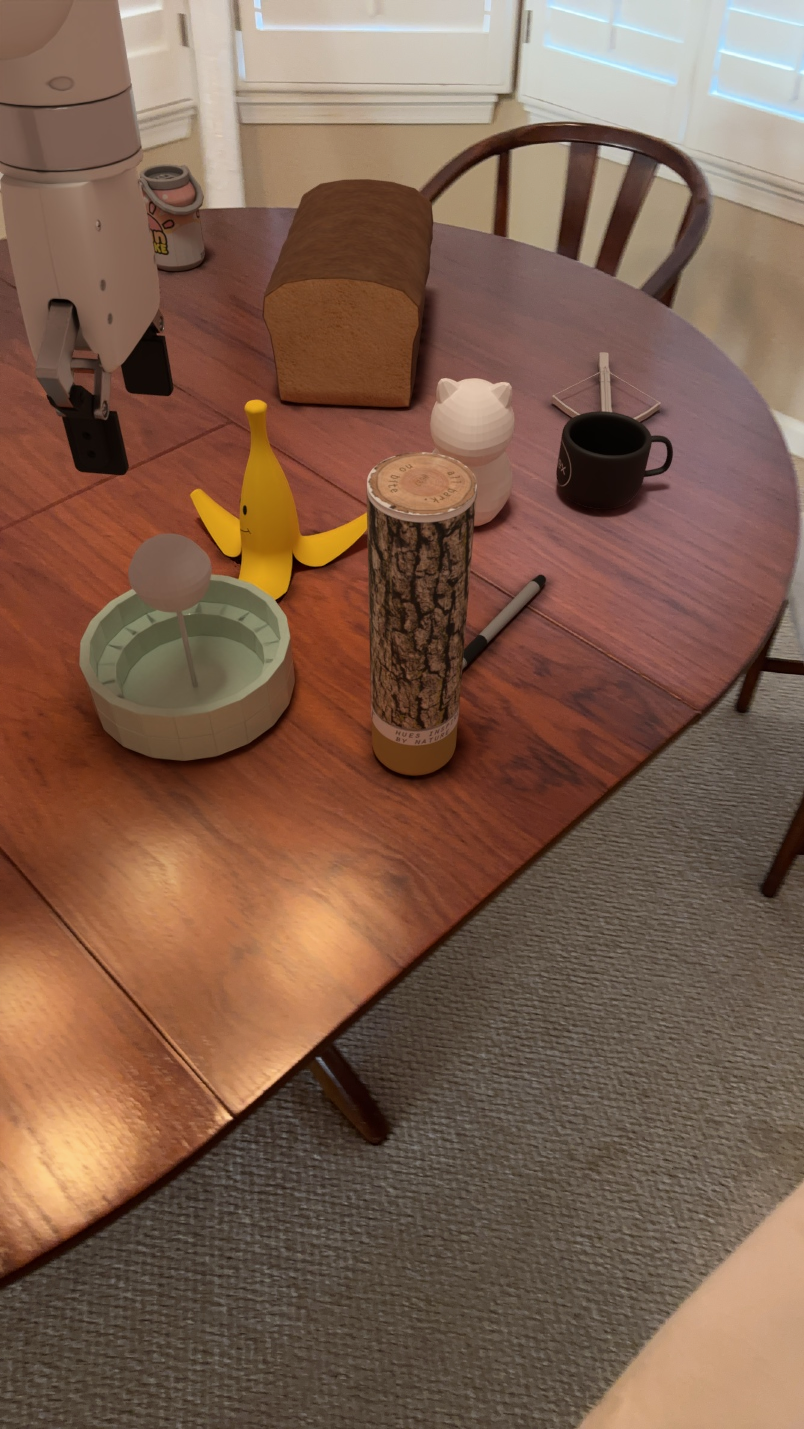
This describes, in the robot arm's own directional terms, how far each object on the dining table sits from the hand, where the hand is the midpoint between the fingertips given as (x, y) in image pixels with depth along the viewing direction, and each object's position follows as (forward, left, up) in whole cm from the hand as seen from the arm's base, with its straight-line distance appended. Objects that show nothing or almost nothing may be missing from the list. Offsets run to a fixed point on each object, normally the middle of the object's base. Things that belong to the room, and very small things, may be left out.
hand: (128, 429), depth 61 cm
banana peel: (+5, +20, -25) cm, 33 cm away
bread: (+5, +63, -26) cm, 68 cm away
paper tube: (+19, -3, -26) cm, 32 cm away
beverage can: (-25, +86, -26) cm, 93 cm away
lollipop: (0, +1, -25) cm, 25 cm away
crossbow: (+36, +55, -26) cm, 71 cm away
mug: (+36, +35, -26) cm, 57 cm away
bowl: (0, +1, -25) cm, 25 cm away
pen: (+25, +12, -26) cm, 38 cm away
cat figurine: (+21, +31, -26) cm, 45 cm away
